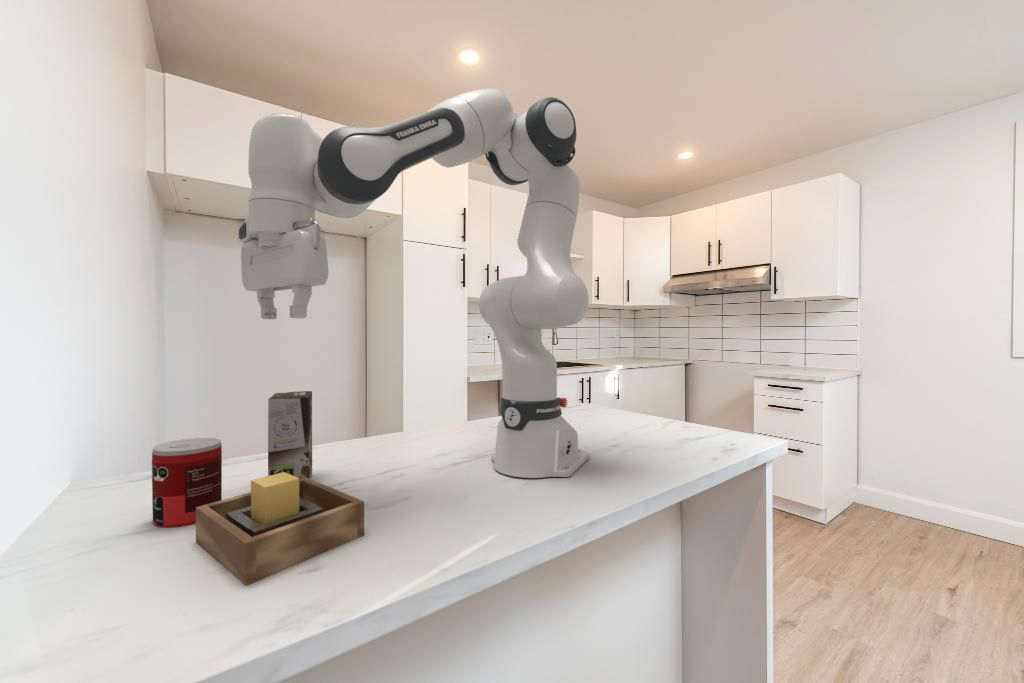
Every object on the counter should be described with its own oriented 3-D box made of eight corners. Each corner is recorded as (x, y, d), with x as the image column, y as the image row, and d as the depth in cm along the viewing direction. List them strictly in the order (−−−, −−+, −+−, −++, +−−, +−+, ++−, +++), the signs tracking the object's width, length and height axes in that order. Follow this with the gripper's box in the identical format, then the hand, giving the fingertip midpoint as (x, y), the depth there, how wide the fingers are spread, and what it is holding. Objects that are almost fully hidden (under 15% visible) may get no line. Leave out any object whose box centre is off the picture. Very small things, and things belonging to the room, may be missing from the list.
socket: (292, 522, 59) (292, 493, 58) (323, 539, 54) (323, 508, 54) (225, 545, 52) (225, 513, 52) (254, 567, 47) (253, 532, 47)
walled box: (306, 510, 64) (306, 477, 64) (364, 539, 55) (364, 501, 55) (195, 546, 53) (195, 507, 53) (245, 591, 44) (245, 543, 44)
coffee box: (309, 490, 72) (309, 396, 72) (266, 495, 70) (266, 398, 69) (313, 474, 80) (313, 390, 80) (275, 478, 78) (275, 391, 78)
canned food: (165, 513, 63) (165, 439, 62) (228, 505, 65) (228, 435, 65) (141, 536, 55) (140, 453, 55) (213, 527, 58) (212, 448, 58)
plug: (284, 532, 56) (284, 472, 55) (299, 541, 53) (299, 478, 53) (251, 544, 52) (251, 480, 52) (265, 554, 50) (265, 487, 50)
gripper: (340, 221, 60) (340, 318, 60) (274, 239, 72) (274, 320, 72) (295, 210, 55) (295, 316, 55) (232, 232, 67) (232, 319, 67)
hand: (282, 318), depth 64 cm, fingers open, 8 cm apart
